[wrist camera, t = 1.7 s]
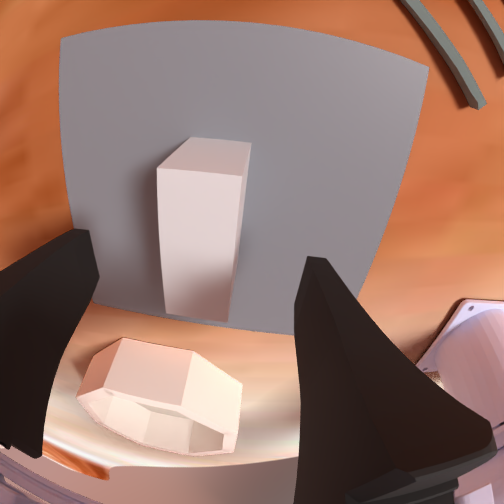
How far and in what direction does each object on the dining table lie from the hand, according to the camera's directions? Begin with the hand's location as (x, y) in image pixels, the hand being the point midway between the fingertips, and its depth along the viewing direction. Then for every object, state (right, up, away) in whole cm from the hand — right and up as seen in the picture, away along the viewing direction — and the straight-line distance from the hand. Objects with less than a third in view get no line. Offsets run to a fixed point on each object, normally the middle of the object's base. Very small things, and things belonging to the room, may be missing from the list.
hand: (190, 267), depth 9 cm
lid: (0, +3, +5) cm, 6 cm away
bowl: (-6, -11, +14) cm, 19 cm away
